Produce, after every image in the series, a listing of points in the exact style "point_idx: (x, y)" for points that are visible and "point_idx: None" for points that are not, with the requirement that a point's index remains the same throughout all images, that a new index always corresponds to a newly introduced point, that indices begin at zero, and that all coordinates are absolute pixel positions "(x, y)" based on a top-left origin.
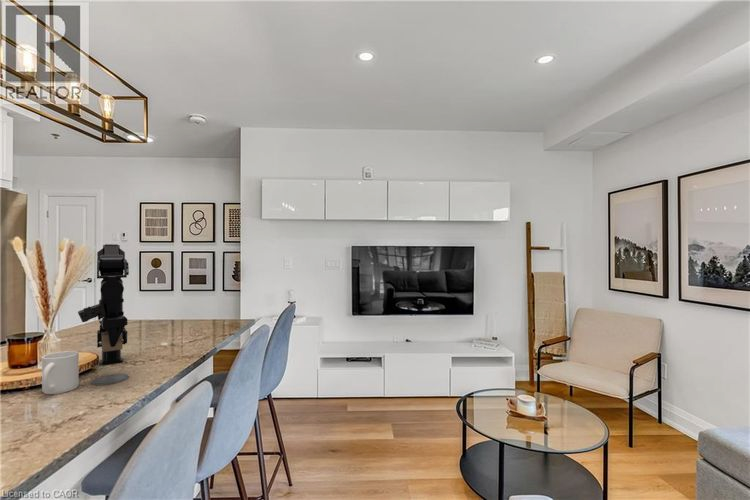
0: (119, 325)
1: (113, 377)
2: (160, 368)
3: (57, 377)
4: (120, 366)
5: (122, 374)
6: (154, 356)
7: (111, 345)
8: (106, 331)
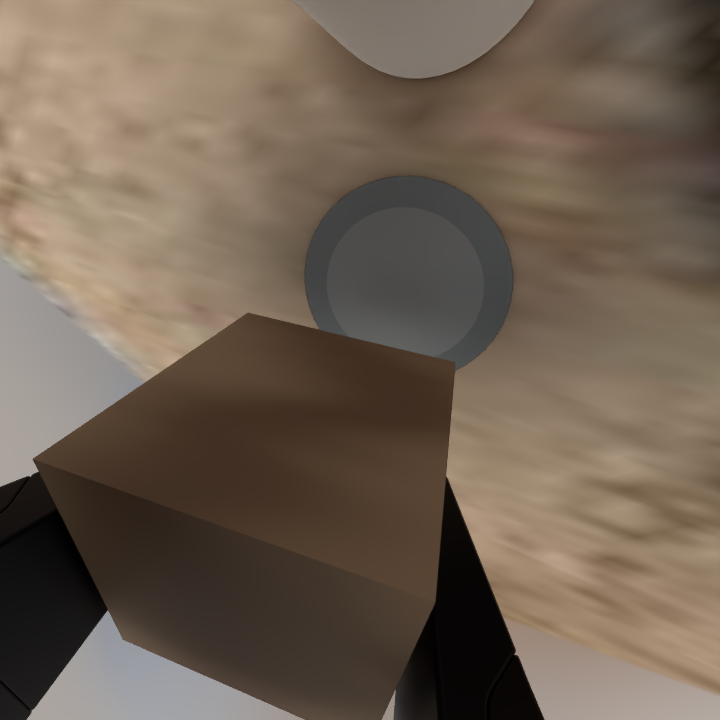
0: None
1: (420, 314)
2: None
3: None
4: (672, 432)
5: None
6: (683, 601)
7: None
8: (436, 687)
